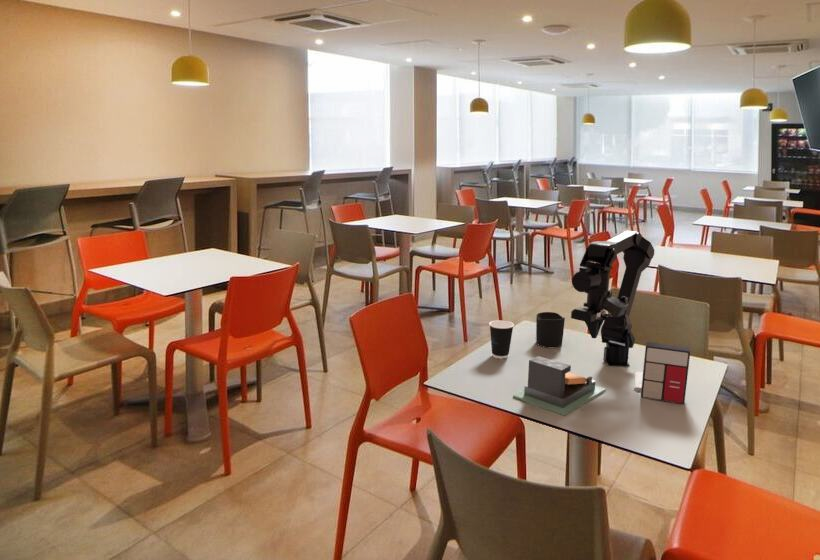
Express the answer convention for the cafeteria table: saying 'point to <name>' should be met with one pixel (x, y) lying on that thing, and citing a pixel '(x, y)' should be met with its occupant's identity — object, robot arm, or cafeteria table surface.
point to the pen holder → (549, 329)
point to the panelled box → (665, 372)
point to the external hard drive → (638, 381)
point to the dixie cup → (501, 338)
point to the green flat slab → (557, 409)
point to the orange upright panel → (574, 379)
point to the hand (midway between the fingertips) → (594, 338)
